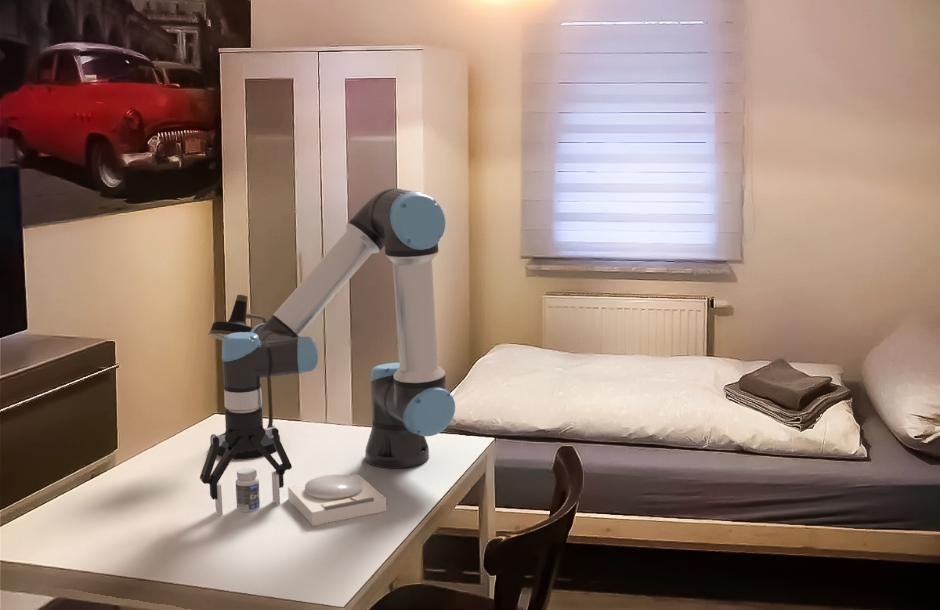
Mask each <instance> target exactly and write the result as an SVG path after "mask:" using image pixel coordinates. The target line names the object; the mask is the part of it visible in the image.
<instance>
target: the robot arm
mask: <svg viewBox="0 0 940 610" xmlns="http://www.w3.org/2000/svg"><path fill="white" fill-rule="evenodd" d="M345 227H346V231H345V232H344V233H343V235H341V237H340V238H339V239H338V240H337V242H336V243H335V244H334V245H333V246H332V247H331V248H330V249H329V251H327V253H326V254H325V255H324V256H323V257H322V259H320V261H319V262H318V263H317V264H316V265H315V266H314V268H313V269H312V270H311V271H309V273H308V274H307V275H306V277H305V278H304V279H303V280H302V281H301V282H300V284H299V285H298V286H297V287H296V288H295V290H293V292H291V294H290V295H289V296H288V297H287V298H286V299H285V300H284V302H283V303H282V304H281V305H280V306H279V307H278V309H276V310H275V312H274V313H273V314H272V315H271V316H270V317H269V319H267V322H266V323H263V322H262V323H259V324H256V325H255V326H254V327H253V329H252V330H251V331H250V332H237V333H231V334H228V335H226V336H225V337H224V338H223V341H222V340H221V361H222V373H223V374H222V375H223V377H222V378H223V392H224V393H223V394H224V395H223V396H224V398H223V399H224V408H225V411H224V413H225V414H224V417H225V419H224V421H225V432H224V433H225V434H224V435H221V434H218V435H217V434H213V433H212V434H211V435H210V439H209V441H210V442H209V443H210V445H209V449H208V451H207V455H206V458H205V461H204V464H203V467H202V470H201V472H200V476H199V479H200V481H201V482H202V483H203V484H205V485H206V484H207V485H209V496H210V498H211V499H212V500H214V501H215V502H214V503H215V512H216V513H217V514H218V516H222V515H223V498H222V497H223V495H222V494H223V493H222V484H221V483H220V480H221V478H222V476H223V474H224V473H225V471H226V469H228V466H229V465H230V463H231V462H232V460H233V457H235V455H236V454H237V452H239V453H244V452H246V451H250V452H251V451H254V450H255V449H256V448H257V449H258V450H259V451H260V452H261V454H262V455H263V456H262V457H264V459H265V460H267V462H268V463H269V464H270V465H271V466H272V467H273V469H274V470H273V471H271V489H272V492H271V493H272V502H273V503H274V504H276V505H281V496H280V492H281V491H280V489H281V488H284V486H285V483H284V482H285V481H284V475H285V473H286V471H287V470H291V469H292V468H293V466H292V463H291V462H290V460H289V459H290V458H289V457H288V455H287V452H286V451H285V449H284V445H283V444H282V442H281V439H280V440H279V435H280V433H279V432H280V431H279V429H278V428H277V427H276V426H275V425H273V424H272V426H270V428H267V427H266V428H264V421H263V408H262V407H261V406H262V405H263V401H262V400H263V399H262V398H263V397H262V379H263V378H267V377H271V378H272V377H277V376H279V377H280V376H286V375H288V376H289V375H294V374H295V375H296V374H297V375H298V374H299V375H301V374H303V373H304V374H305V373H307V372H313V371H314V370H315V369H316V368H317V366H318V362H319V354H318V353H319V352H318V348H317V344H316V342H315V340H314V338H313V337H311V336H301V335H302V334H303V332H305V330H306V329H307V328H308V327H309V326H310V325H311V324H312V322H313V321H315V319H316V318H317V317H318V316H319V314H320V313H321V312H322V311H323V310H324V308H325V307H326V306H328V304H329V303H330V302H331V300H333V298H334V297H336V295H337V294H338V293H339V291H340V290H341V289H342V288H344V286H345V285H346V283H348V282H349V280H350V279H352V277H353V275H355V273H356V272H357V271H358V270H359V269H361V266H363V265H364V263H365V262H366V261H367V260H368V259H369V258H370V256H371V255H372V254H379V253H380V252H381V251H382V250H383V248H384V255H385V257H386V258H388V260H390V262H391V263H392V271H393V272H392V273H393V288H394V289H393V290H394V299H395V300H394V301H395V303H394V305H395V315H396V331H397V332H396V333H397V334H396V335H397V346H398V360H399V362H390V363H389V362H388V363H384V364H378V365H376V366H373V368H372V369H371V373H370V379H369V381H370V382H369V383H370V395H371V396H370V401H371V425H372V427H371V431H370V434H369V437H368V440H367V444H366V446H365V461H366V462H367V463H368V464H370V465H373V466H376V467H379V468H384V469H385V468H386V469H404V468H411V467H415V466H419V465H422V464H423V463H425V462H427V461H428V460H429V458H430V449H429V445H428V442H427V439H426V437H432V436H436V435H438V434H440V433H442V432H443V431H444V430H445V429H447V427H448V426H449V425H450V424H451V422H452V421H453V419H454V417H455V412H456V402H455V399H454V397H453V395H452V394H451V392H450V391H449V390H448V389H447V384H446V383H447V382H446V381H447V379H446V371H445V370H444V369H443V368H442V367H441V366H440V365H439V362H438V361H439V359H438V344H437V343H438V342H437V326H436V324H437V323H436V305H435V292H434V291H435V290H434V288H435V287H434V275H433V271H434V270H433V260H434V258H435V257H436V256H437V255H438V254H439V242H440V239H441V238H442V237H443V235H444V233H445V230H446V217H445V213H444V210H443V209H442V207H441V205H440V204H439V202H438V201H436V199H434V198H433V197H431V196H430V195H427V194H425V193H423V192H421V191H414V190H406V189H401V188H387V189H383V190H382V191H379V192H378V193H376V194H375V195H373V196H372V197H371V198H370V199H368V201H367V202H365V204H363V205H362V207H361V208H360V209H359V210H358V211H357V212H356V213H355V214H354V215H353V217H351V219H349V221H348V222H347V223H346V225H345ZM265 434H267V436H268V437H269V438H271V440H272V442H273V444H274V446H275V449H276V452H277V453H276V454H278V457H279V458H280V461H281V463H280V464H279V463H278V461H277V460H276V459H275V458H274V457H273V456H272V454H270V453H269V452H268V451H267V450H266V449H265V447H264V446H263V445H262V444H261V441H262V439H263V438H264V436H265ZM223 441H226V442H227V443H228V446H227V448H226V449H225V453H224V454H223V456H221V458H220V459H219V461H218V462H217V464H216V465H215V463H216V460H217V456H218V455H217V454H218V451H219V446H221V445H222V443H223ZM214 466H215V468H214Z"/></svg>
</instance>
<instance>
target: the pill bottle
mask: <svg viewBox="0 0 940 610" xmlns="http://www.w3.org/2000/svg"><path fill="white" fill-rule="evenodd" d="M236 476H237V479H236V480H235V496H236V509H237V511H238V512H241V513H252V512H255V511H257V510H258V509H260V507H261V505H260V504H261V503H260V501H261V500H260V482H259V478H258V477H257V476H258V473H257V469H256V468H254V467H243V468H239V469H238V470H237V471H236Z"/></svg>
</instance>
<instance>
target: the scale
mask: <svg viewBox="0 0 940 610" xmlns="http://www.w3.org/2000/svg"><path fill="white" fill-rule="evenodd" d="M287 492H288V493H287V494H288V495H287V497H288V501H289V502H291V503H292V505H293V506H294V507H295V508H296V509H297V510H298V511H299V512H300V513H301V515H302V516H303V517H304V518H305V519H306V520H307V521H308V522H309V523H310V524H311V526H317V525H322V524H329V523H334V522H338V521H343V520H344V521H345V520H347V519H353V518H354V519H355V518H358V517H364V516H369V515H373V514H378V513H383V512H387V498H386V497H385V496H384V495H383V494H382V493H380V492H379V490H377V489H376V488H374V486H372V485H371V484H370V483H369V482H367V480H365V479H364V478H363V477H362V476H361V475H359V473H358V474H351V475H347V474H327V475H321V476H318V477H315V478H312V479H310V480H308V481H307V482H306V483H302V484H301V483H300V484H297V485H296V484H295V485H291V486H290V485H289V486H287ZM328 522H329V523H328Z"/></svg>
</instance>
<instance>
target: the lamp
mask: <svg viewBox="0 0 940 610" xmlns="http://www.w3.org/2000/svg"><path fill="white" fill-rule="evenodd" d="M248 298H249V297H248V296H247V295H244V294H237V296H236V298H235V302H234V305H233V309H232V311H231V314H230V317H229V320H227V321H221V320H220V321H219V320H218V321H214V322H213V323H212V324H211V328H210V330H209V333H208V336H209V337H210V338H213V339H216V340H219V341H221V342H222V341H223V338H224V337H225V336H226V335H228V334H231V333H237V332H250V331H251V330H252V329H253V328H254V327H253V326H250V325H248V324H247V320H248V319H249V320H252V319H253V320H259V321H262V323H266V322H267V321H268V319H266V317H264V316H262V315H259V314H254V313H248V311H247V310H248ZM266 385H267V388H266V389H267V406H268V408H267V409H268V422H267V423H268V424H267V427H266V428H270V426H272V425H273V423H274V414H273V413H274V411H273V409H274V408H273V391H272V390H273V388H272V377H266ZM224 434H225V432H223V433H220V435H224ZM279 440H280V441H281V436H280V434H279ZM261 444H262V445H263V446H264V447H265V449H266V450H267V451H268V452H269V453H270V455H272V454H274V453H275V452H277V451H276V449H275V446H274V444H273V442H272V440H271V438H269V437H268V436H267V434H265V436H264V438H263V439H262V441H261ZM227 446H228V443H227V442H226V441H223V443H222V445H221V446H219V451H218V454H217V456H220V457H222V456H223V454H224V453H225V449H226V448H227ZM261 456H262V457H264V456H263V455H262V454H261V452H260V451H259V450H258V449H257V448H256V449H255V450H254V451H251V452H250V451H246V452H244V453H239V452H237V454H236V455H235V457H233V458H232V460H234V459H235V460H246V459H256V458H261Z"/></svg>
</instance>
